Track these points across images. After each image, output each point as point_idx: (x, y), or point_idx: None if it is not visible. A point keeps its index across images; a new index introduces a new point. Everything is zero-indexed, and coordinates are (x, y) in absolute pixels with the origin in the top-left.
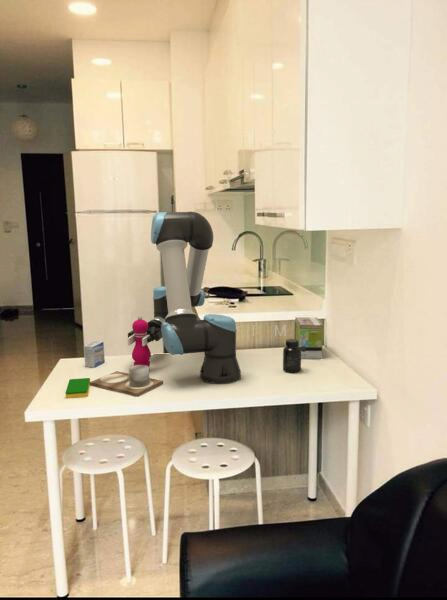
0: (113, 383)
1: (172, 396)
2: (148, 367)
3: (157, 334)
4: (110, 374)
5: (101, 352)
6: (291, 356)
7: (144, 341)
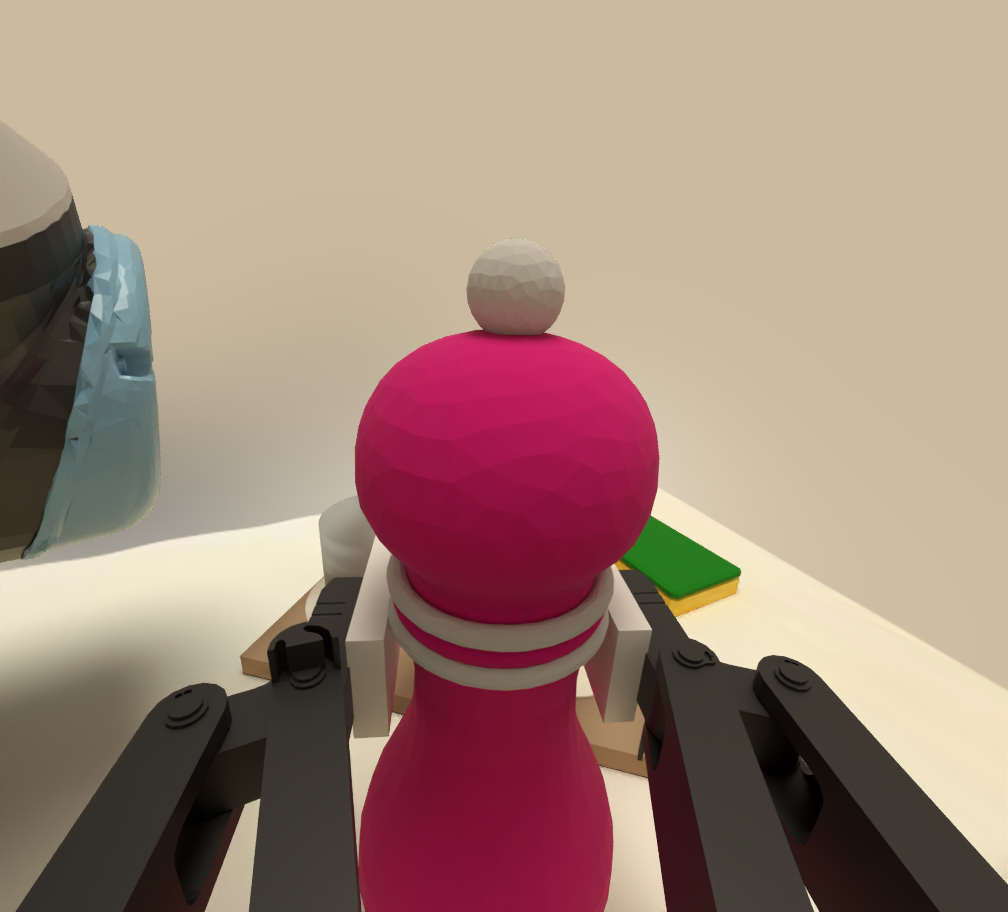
0: None
1: (209, 566)
2: (322, 525)
3: (163, 726)
4: None
5: None
6: None
7: None
